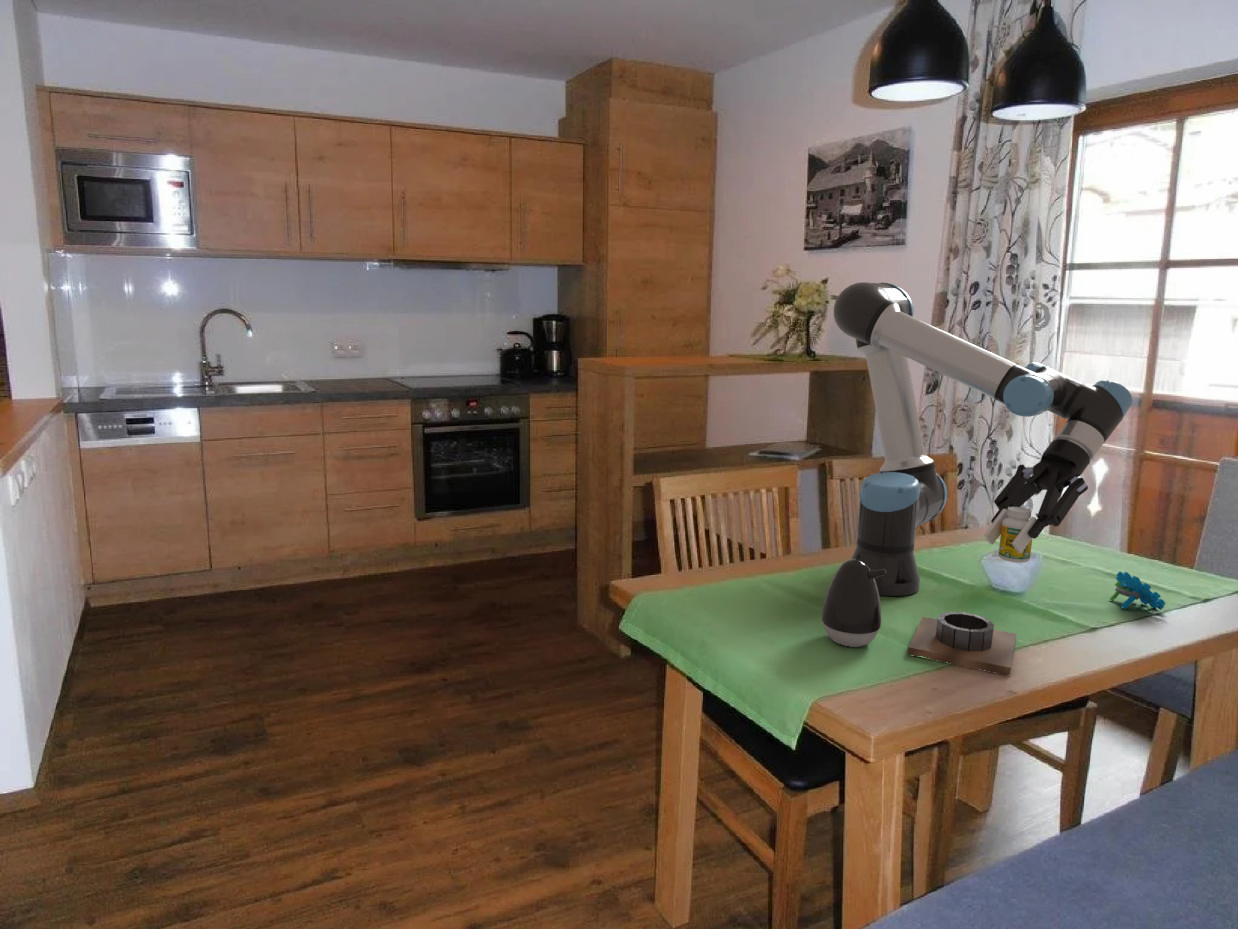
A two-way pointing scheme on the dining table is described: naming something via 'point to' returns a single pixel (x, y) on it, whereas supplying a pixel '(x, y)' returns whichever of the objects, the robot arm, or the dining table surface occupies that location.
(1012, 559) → the supplement bottle
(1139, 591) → the gear
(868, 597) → the pump dispenser
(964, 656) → the board
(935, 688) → the dining table surface
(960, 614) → the collar
